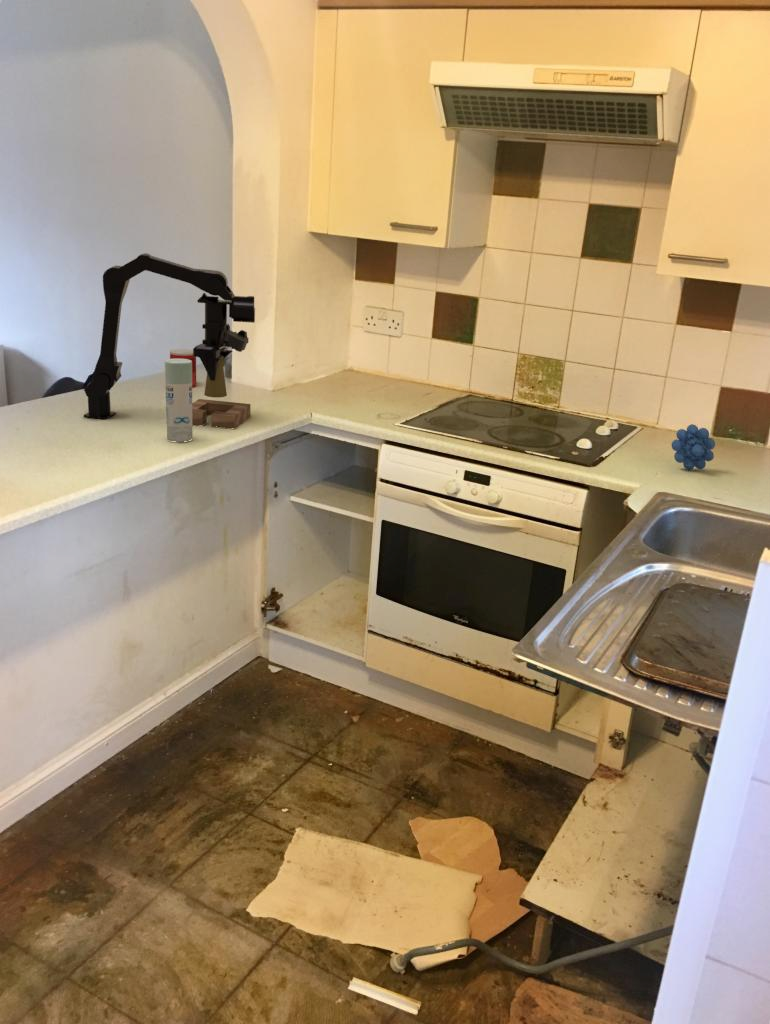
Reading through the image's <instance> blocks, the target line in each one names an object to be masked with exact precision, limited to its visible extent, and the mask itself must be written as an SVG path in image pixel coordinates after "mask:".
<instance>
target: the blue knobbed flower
mask: <svg viewBox="0 0 770 1024" xmlns="http://www.w3.org/2000/svg"><path fill="white" fill-rule="evenodd" d="M676 438H677V439H674V440H673V441H672V442H671V444H670V445H671V449H672V450H673V451H674V452H675V453H674V455H673V456H674V460H675V462H676V463H680V464H683V467H684V469H686V470H688V471H691V470H693V469H694V468H696V469H698V470H703V469H705V468H706V465H707V463H706V462H711V461H712V460H714V457H715V454H714V452H713V451H712V450H713V449H715V446H716V441H715V440H714V439H713V438H711V437H710V432H709V429H707V428H706V427H705V428H704V427H700V428H698V426H697V425H696V424H693V423H692V424H689V425H688V426H686V429H684V428H680V429H678V430H677V432H676Z"/></svg>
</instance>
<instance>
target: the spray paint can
mask: <svg viewBox="0 0 770 1024" xmlns="http://www.w3.org/2000/svg"><path fill="white" fill-rule="evenodd" d="M164 374H165V376H164V378H165V379H164V380H165V381H164V382H165V408H166V409H165V411H166V412H165V413H166V414H165V415H166V439H167V441H168V440H170V441H176V442H184V441H189V440H191V439H192V440H193V425H192V403H193V388H192V361H191V360H188V359H181V358H173V359H170V358H167V359H165V360H164ZM170 441H169V442H170Z"/></svg>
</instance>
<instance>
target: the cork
mask: <svg viewBox="0 0 770 1024" xmlns="http://www.w3.org/2000/svg"><path fill="white" fill-rule="evenodd" d="M220 356H222V355H220ZM226 360H227V359H225V358H224V356H223V357H222V358H221V359H220V360H219V361H218V363H217V370H216V376H215V380H214V381H212V380H210V378H209V376H208V374H207V373H206V379H205V386H204V396H206V397H208V398H209V397H210V398H225V397H227V395H228V394H227V385H226V378H225V370H224V367H225V366H226Z"/></svg>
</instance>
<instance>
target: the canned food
mask: <svg viewBox="0 0 770 1024" xmlns="http://www.w3.org/2000/svg"><path fill="white" fill-rule="evenodd" d="M173 358H181V359H188V360H191V361H192V387H193V388H195V387H196V385H197V357H194V356H193V349H187V348H178V349H177V348H176V349H172V350H170V352H169V359H173Z"/></svg>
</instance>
